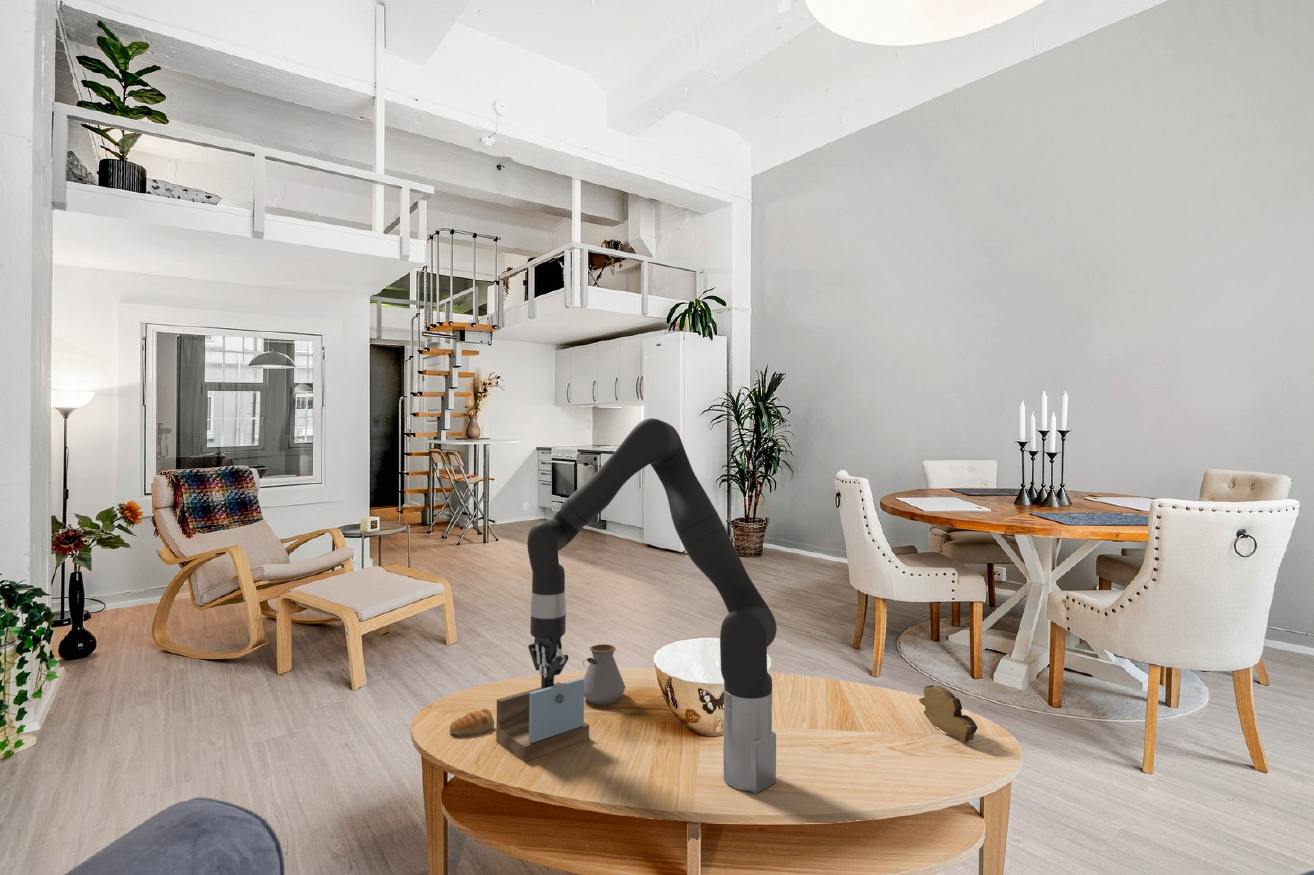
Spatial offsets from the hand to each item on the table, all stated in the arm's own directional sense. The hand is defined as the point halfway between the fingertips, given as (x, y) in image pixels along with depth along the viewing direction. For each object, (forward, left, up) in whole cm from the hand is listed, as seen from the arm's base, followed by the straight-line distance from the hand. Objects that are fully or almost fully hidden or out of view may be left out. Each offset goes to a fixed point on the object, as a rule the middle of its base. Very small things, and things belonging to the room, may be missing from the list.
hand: (547, 692), depth 139 cm
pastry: (+16, +9, -11) cm, 22 cm away
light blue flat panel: (-5, 0, -7) cm, 9 cm away
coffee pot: (+8, -20, -11) cm, 24 cm away
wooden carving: (-55, -71, -11) cm, 91 cm away
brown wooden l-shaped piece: (+1, 0, -11) cm, 11 cm away
